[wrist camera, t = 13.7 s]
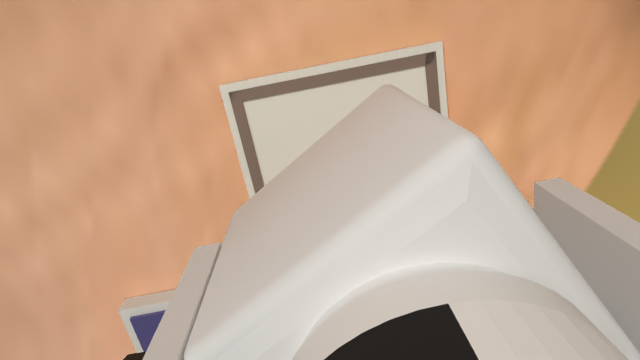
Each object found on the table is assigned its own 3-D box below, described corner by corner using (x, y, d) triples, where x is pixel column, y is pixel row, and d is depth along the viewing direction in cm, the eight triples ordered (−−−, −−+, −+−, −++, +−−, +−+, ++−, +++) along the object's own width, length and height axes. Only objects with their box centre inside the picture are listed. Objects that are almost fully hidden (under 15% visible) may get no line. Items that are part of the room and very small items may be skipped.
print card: (270, 270, 22) (270, 276, 21) (220, 84, 18) (218, 86, 18) (454, 235, 22) (457, 240, 21) (439, 41, 18) (443, 41, 18)
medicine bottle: (355, 331, 17) (474, 964, 5) (228, 213, 15) (-9, 846, 3) (502, 225, 15) (1079, 778, 4) (386, 77, 13) (911, 369, 2)
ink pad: (171, 405, 25) (165, 423, 24) (125, 298, 22) (116, 313, 21) (300, 381, 25) (300, 398, 24) (270, 270, 22) (269, 284, 21)
